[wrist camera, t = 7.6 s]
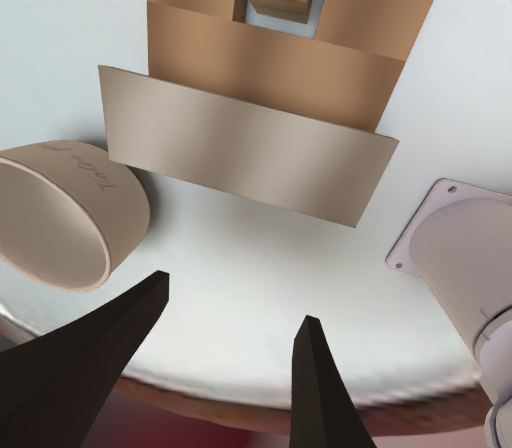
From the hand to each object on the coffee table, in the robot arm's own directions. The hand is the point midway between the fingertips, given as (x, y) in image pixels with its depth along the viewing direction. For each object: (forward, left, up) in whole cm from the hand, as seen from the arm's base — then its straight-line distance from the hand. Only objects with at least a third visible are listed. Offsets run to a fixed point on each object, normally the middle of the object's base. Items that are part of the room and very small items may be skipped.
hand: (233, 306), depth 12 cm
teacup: (+16, +2, -10) cm, 19 cm away
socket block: (+2, -11, -10) cm, 15 cm away
